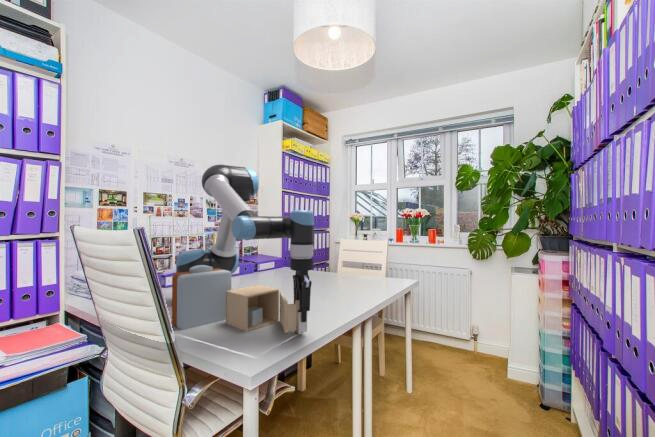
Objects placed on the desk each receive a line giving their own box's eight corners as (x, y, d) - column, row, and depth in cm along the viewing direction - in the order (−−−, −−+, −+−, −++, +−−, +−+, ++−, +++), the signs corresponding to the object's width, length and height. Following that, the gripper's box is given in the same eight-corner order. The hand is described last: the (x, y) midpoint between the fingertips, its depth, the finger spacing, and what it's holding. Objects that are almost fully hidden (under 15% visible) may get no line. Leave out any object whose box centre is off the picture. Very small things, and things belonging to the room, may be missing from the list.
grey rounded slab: (221, 314, 123) (221, 262, 123) (232, 319, 116) (232, 264, 116) (171, 325, 110) (171, 267, 110) (180, 332, 103) (180, 270, 103)
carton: (226, 324, 111) (226, 290, 111) (258, 315, 121) (258, 284, 121) (246, 332, 103) (246, 296, 103) (278, 322, 114) (278, 289, 114)
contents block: (242, 323, 110) (242, 309, 110) (252, 319, 115) (252, 305, 115) (252, 325, 108) (252, 311, 108) (262, 321, 112) (262, 307, 112)
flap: (285, 334, 99) (285, 302, 99) (279, 319, 113) (279, 292, 114) (303, 332, 100) (303, 301, 101) (295, 318, 115) (295, 291, 115)
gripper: (321, 259, 96) (320, 336, 96) (305, 254, 111) (305, 321, 110) (297, 260, 93) (296, 339, 93) (285, 255, 108) (284, 323, 108)
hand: (301, 329), depth 102 cm, fingers closed on flap, 3 cm apart
